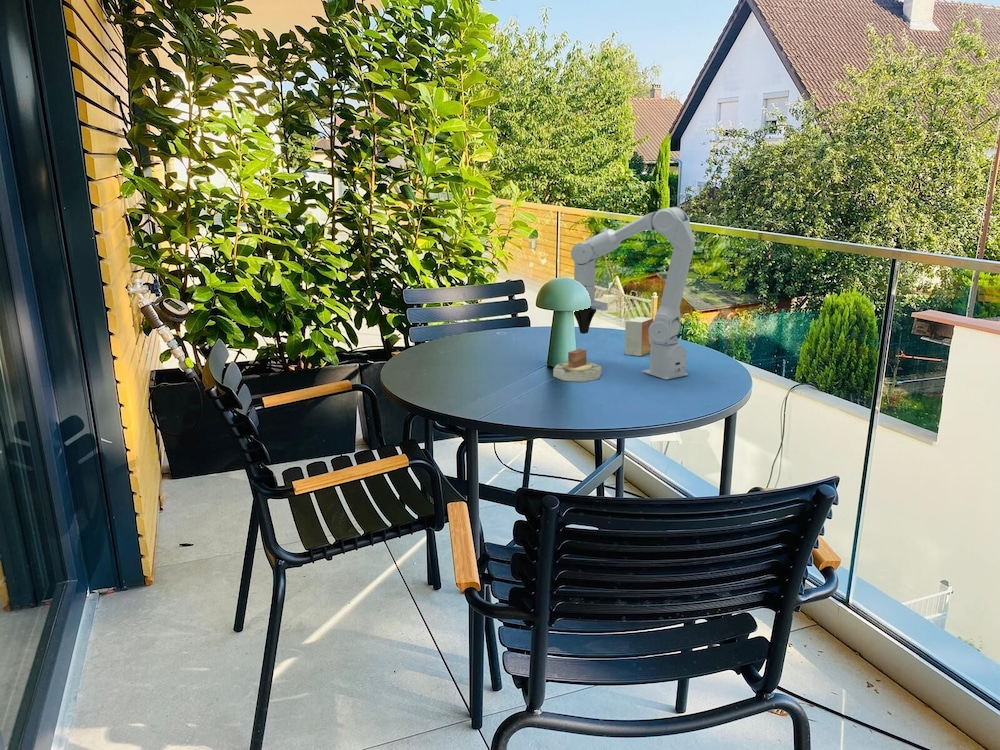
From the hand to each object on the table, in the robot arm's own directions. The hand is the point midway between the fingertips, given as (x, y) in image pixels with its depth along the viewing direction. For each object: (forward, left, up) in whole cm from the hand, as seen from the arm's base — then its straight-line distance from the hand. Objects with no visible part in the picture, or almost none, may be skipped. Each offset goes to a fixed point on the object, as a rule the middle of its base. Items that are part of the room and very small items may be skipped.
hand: (584, 332), depth 201 cm
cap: (-8, +8, -9) cm, 15 cm away
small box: (+2, -22, -10) cm, 24 cm away
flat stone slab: (-8, +8, -9) cm, 15 cm away
